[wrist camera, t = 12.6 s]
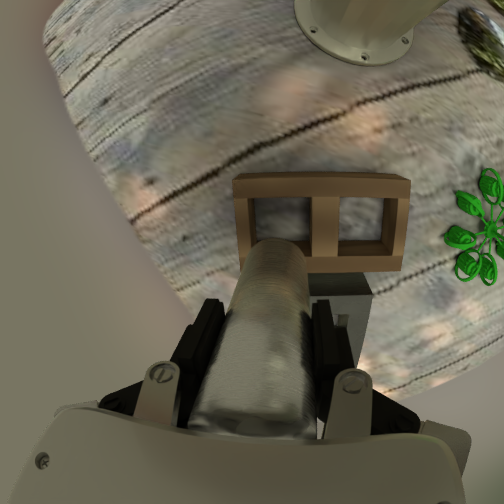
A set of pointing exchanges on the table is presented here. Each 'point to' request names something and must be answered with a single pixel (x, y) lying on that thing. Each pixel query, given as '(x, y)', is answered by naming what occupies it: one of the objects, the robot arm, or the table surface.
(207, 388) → the grey tall cylinder
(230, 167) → the table surface
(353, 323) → the socket block
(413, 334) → the table surface
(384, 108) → the table surface
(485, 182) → the chandelier
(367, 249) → the frame
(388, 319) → the table surface
